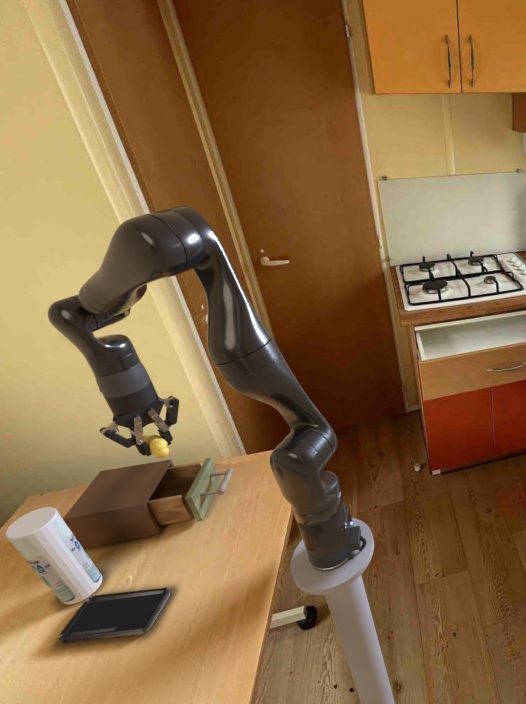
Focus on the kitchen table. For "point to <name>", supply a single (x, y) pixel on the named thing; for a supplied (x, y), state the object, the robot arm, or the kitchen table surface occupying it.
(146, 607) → the phone
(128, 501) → the cabinet
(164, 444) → the yellow cheese puff
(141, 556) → the kitchen table surface
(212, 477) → the drawer
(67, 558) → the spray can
